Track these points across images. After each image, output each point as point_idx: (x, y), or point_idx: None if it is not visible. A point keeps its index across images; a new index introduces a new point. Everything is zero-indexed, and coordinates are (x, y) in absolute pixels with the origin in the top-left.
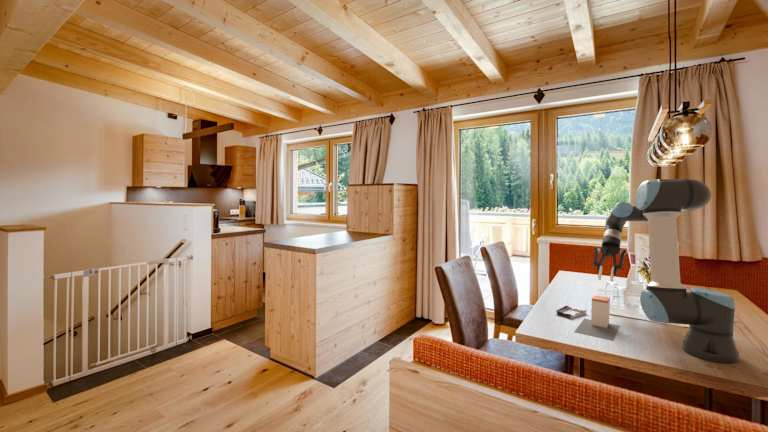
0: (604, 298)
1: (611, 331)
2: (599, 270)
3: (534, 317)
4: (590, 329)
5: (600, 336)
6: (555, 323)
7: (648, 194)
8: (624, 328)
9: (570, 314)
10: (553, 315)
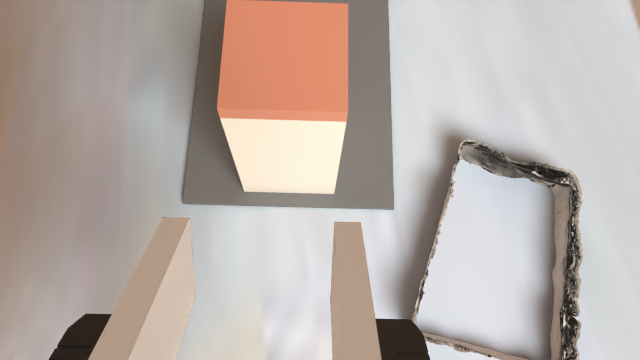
0: (256, 58)
1: None
2: (368, 300)
3: (636, 64)
4: None
5: None
6: (504, 36)
7: None
8: (160, 179)
9: (472, 140)
10: (570, 166)
